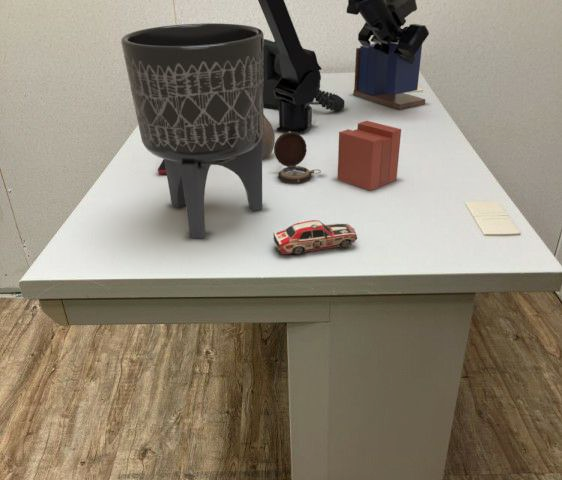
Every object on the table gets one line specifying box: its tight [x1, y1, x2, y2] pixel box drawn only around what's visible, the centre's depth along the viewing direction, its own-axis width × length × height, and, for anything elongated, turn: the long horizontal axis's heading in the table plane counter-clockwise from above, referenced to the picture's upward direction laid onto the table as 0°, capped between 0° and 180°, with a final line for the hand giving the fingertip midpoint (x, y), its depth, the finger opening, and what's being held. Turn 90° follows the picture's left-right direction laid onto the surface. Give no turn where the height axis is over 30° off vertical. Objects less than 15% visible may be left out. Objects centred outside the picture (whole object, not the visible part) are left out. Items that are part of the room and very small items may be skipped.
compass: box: [273, 131, 322, 184], centre depth 111 cm, size 8×8×7 cm
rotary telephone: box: [264, 38, 345, 112], centre depth 153 cm, size 33×22×15 cm, turn 58°
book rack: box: [352, 47, 426, 110], centre depth 152 cm, size 8×18×11 cm, turn 32°
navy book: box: [386, 43, 423, 95], centre depth 144 cm, size 8×3×11 cm, turn 122°
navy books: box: [358, 43, 388, 96], centre depth 155 cm, size 8×6×11 cm
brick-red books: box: [337, 120, 402, 192], centre depth 108 cm, size 8×7×9 cm
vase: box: [262, 114, 276, 160], centre depth 120 cm, size 7×7×9 cm
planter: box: [120, 22, 265, 239], centre depth 91 cm, size 20×20×26 cm
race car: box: [272, 219, 358, 256], centre depth 88 cm, size 5×12×5 cm, turn 99°
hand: (408, 60), depth 144 cm, fingers closed on navy book, 3 cm apart
